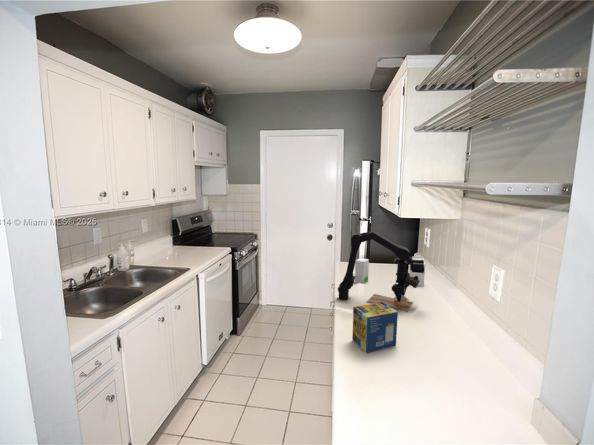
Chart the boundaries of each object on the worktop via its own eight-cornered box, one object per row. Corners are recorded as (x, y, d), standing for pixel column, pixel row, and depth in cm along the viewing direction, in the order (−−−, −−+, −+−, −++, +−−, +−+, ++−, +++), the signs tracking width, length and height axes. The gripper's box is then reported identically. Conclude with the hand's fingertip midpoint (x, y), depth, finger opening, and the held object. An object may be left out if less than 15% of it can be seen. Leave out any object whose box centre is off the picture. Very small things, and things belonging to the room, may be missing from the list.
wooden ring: (406, 308, 156) (406, 302, 156) (392, 305, 160) (392, 299, 159) (409, 303, 162) (409, 297, 162) (395, 301, 166) (396, 295, 165)
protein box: (351, 340, 129) (352, 306, 127) (381, 333, 134) (382, 301, 132) (365, 353, 119) (366, 317, 117) (396, 346, 125) (398, 311, 122)
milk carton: (423, 286, 192) (425, 258, 189) (412, 286, 192) (414, 257, 189) (419, 282, 199) (421, 255, 196) (408, 282, 199) (410, 255, 196)
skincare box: (363, 285, 195) (364, 262, 192) (354, 282, 199) (354, 260, 196) (368, 281, 201) (369, 259, 199) (359, 279, 205) (360, 257, 203)
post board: (407, 314, 153) (408, 302, 152) (366, 304, 164) (366, 293, 163) (413, 304, 164) (413, 293, 163) (374, 296, 176) (374, 285, 175)
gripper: (415, 279, 146) (413, 309, 148) (422, 269, 162) (420, 296, 164) (392, 275, 152) (390, 303, 154) (401, 265, 168) (399, 292, 170)
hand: (401, 299), depth 160 cm, fingers open, 8 cm apart
